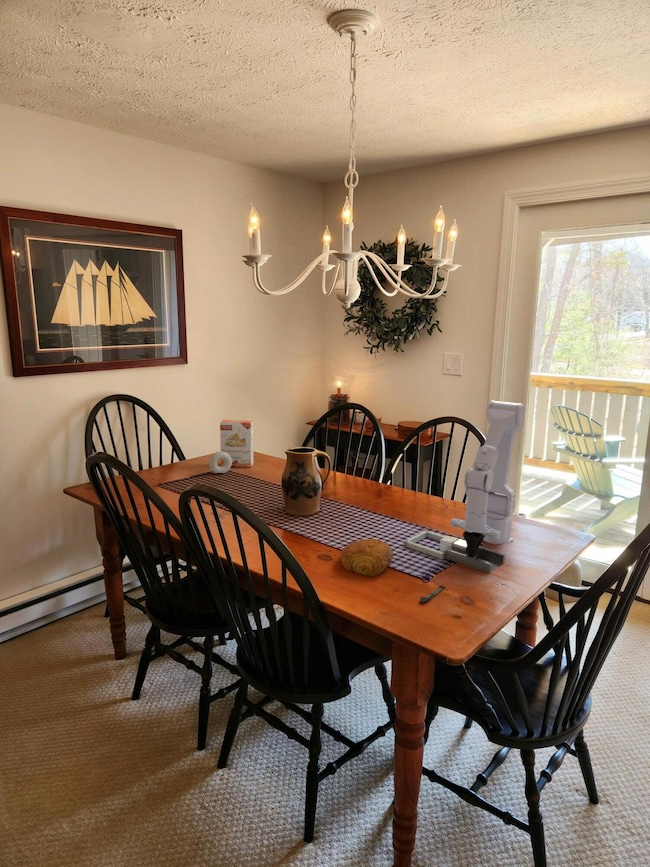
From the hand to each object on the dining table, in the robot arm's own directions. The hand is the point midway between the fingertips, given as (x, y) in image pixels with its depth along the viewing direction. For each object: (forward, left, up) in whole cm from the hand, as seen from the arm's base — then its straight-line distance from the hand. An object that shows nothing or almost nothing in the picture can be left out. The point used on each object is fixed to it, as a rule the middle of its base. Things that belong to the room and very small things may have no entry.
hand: (472, 556), depth 161 cm
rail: (0, 0, -2) cm, 2 cm away
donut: (-3, -122, -2) cm, 122 cm away
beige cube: (0, -7, -1) cm, 7 cm away
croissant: (+22, -21, -2) cm, 31 cm away
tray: (0, -13, -2) cm, 13 cm away
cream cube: (0, -3, -1) cm, 3 cm away
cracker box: (-16, -127, -2) cm, 128 cm away
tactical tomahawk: (+20, +1, -3) cm, 20 cm away
